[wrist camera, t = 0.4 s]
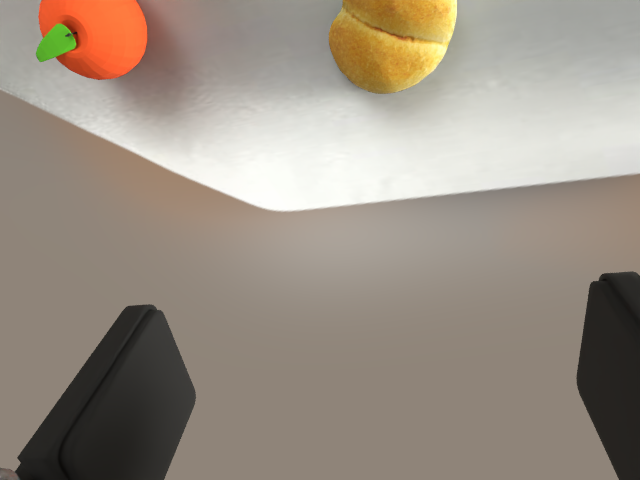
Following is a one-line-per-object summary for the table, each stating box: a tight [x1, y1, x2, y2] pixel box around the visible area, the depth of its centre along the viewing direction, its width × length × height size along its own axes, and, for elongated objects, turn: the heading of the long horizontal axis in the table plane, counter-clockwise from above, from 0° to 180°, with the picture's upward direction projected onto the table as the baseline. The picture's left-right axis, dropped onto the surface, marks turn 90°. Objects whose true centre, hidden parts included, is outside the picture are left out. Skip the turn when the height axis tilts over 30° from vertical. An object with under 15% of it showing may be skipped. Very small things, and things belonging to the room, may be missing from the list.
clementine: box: [36, 0, 147, 80], centre depth 34 cm, size 8×7×7 cm
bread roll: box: [329, 0, 457, 94], centre depth 33 cm, size 8×9×4 cm
